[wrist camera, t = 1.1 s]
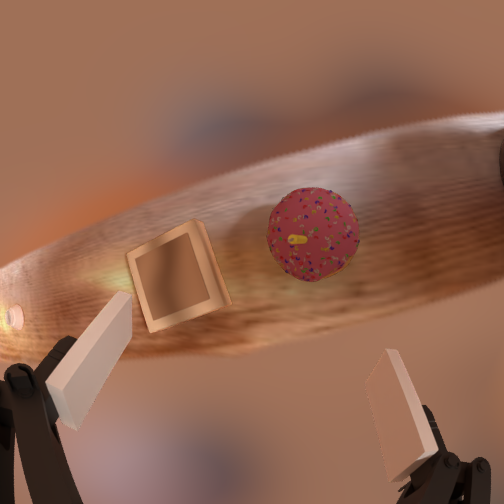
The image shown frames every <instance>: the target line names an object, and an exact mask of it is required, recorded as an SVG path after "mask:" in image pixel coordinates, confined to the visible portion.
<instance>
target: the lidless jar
mask: <svg viewBox="0 0 504 504" xmlns="http://www.w3.org/2000/svg"><path fill="white" fill-rule="evenodd" d="M5 319H6V322H7V324H8V325H9V326H11V327H13V328H15V329H17V330H21V329H22V327H23V324H24V316H23V312H22V309H21V307H20V306H19V305H17V304H15V305H14V306H12V307H11V308H9V309H8V310H6V313H5Z"/></svg>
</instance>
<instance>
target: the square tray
mask: <svg viewBox="0 0 504 504" xmlns="http://www.w3.org/2000/svg"><path fill="white" fill-rule="evenodd" d="M126 255H127V259H128V263H129V266H130V270H131V274H132V277H133V281H134V284H135V288H136V291H137V295H138V298H139V301H140V305H141V308H142V311H143V314H144V317H145V320H146V323H147V326H148V329H149V332H150V333H153V332H157V331H162V330H164V329H167V328H170V327H173V326H176V325H178V324H181V323H184V322H187V321H189V320H192V319H195V318H197V317H200V316H203V315H206V314H208V313H211V312H214V311H216V310H219V309H222V308H224V307H227V306H229V305H232V302H231V299H230V296H229V294H228V291H227V288H226V285H225V283H224V280H223V277H222V274H221V272H220V269H219V266H218V263H217V260H216V258H215V255H214V252H213V249H212V246H211V243H210V240H209V238H208V235H207V232H206V229H205V226H204V223H203V222H201V221H199V220H197V219H192V220H190V221H188V222H186V223H184V224H182V225H180V226H178V227H176V228H174V229H172V230H170V231H168V232H166V233H164V234H162V235H160V236H158V237H157V238H155V239H153V240H151V241H149V242H147V243H145V244H143V245H141V246H140V247H138V248H136V249H134V250H132V251H130V252H129V253H127V254H126Z"/></svg>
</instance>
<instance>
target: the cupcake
mask: <svg viewBox="0 0 504 504" xmlns="http://www.w3.org/2000/svg"><path fill="white" fill-rule="evenodd" d="M283 198H284V199H283ZM283 198H282V201H281V202H280V203H279V204H278V205H277V206H276V207H275V208H273V211H272V213H271V216H270V221H269V227H268V233H267V236H266V237H267V241H268V245H269V248H270V251H271V253H272V255H273V257H274V258H275V260H276V261H277V263H278V264H279V265H280V266H281V267H282V268H283V269H284V270H285V272H286V273H289V274H291V275H292V276H294V277H296V278H297V279H299V280H301V281H309V282H314V281H318V280H320V279H322V278H327V277H330V276H332V275H334V274H336V273H338V272H340V271H341V270H343V269H344V268H345V267H346V266H347V265H348V264H349V262H350V261H351V259H352V257H353V255H354V254H355V252H356V250H357V247H358V243H359V225H358V220H357V218H356V216H355V214H354V212H353V210H352V208H351V205H349V204H348V203H347V202H346V201H345V200H344V199H343V198H342V197H341V196H340V195H338V194H336V193H334V192H332V191H331V190H330V191H329V190H325V189H322V188H301V189H297V190H294V191H293V192H291V193H290V194H287V196H286V197H283Z"/></svg>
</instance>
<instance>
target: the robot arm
mask: <svg viewBox="0 0 504 504" xmlns="http://www.w3.org/2000/svg"><path fill="white" fill-rule="evenodd" d="M500 169H501V175H502V180H503V184H504V140H503V143H502V146H501V151H500ZM131 338H132V294H129V293H125V292H122V291H119V290H118V292H117V293H116V294H115V295H114V296H113V297H112V299H111V300H110V301H109V302H108V303H107V304H106V306H105V307H104V308H103V309H102V310H101V312H100V313H99V314H98V315H97V316H96V318H95V319H94V320H93V321H92V322H91V324H90V325H89V326H88V327H87V329H86V330H85V331H84V332H83V333H82V335H81V336H80V337H79V338H78V339H76V338H73V337H71V336H67V337H65V338H63V339H61V340H59V341H58V343H57V344H56V345H55V346H54V347H53V350H51V351H50V352H49V353H48V356H46V357H45V358H44V359H43V361H42V362H41V363H40V364H39V366H38V367H37V368H36V369H35V371H33V369H32V368H31V367H30V366H28V365H26V364H22V363H17V364H14V365H11V366H10V367H9V368H7V370H6V371H5V374H4V380H5V381H1V380H0V504H15V500H14V445H15V432H16V438H17V443H18V448H19V453H20V458H21V462H22V467H23V471H24V475H25V478H26V482H27V485H28V489H29V492H30V496H31V499H32V502H33V504H83V502H82V500H81V497H80V495H79V492H78V490H77V487H76V485H75V482H74V480H73V477H72V474H71V471H70V469H69V466H68V463H67V460H66V457H65V453H64V450H63V447H62V444H61V441H60V437H59V433H58V430H57V426H56V424H55V422H56V420H57V419H58V417H59V418H60V420H61V422H62V424H64V425H66V426H68V427H70V428H72V429H74V430H76V431H78V430H79V428H80V426H81V424H82V422H83V420H84V419H85V417H86V415H87V413H88V411H89V410H90V408H91V406H92V404H93V402H94V400H95V399H96V397H97V395H98V393H99V392H100V390H101V388H102V386H103V385H104V383H105V381H106V380H107V378H108V376H109V375H110V373H111V371H112V369H113V368H114V366H115V364H116V363H117V361H118V359H119V358H120V356H121V354H122V353H123V351H124V349H125V348H126V346H127V344H128V343H129V341H130V340H131ZM364 386H365V389H366V393H367V396H368V400H369V404H370V407H371V411H372V415H373V418H374V422H375V426H376V430H377V434H378V438H379V442H380V447H381V451H382V455H383V459H384V463H385V468H386V473H387V477H388V482H389V483H391V482H399V481H403V480H404V479H405V478H407V477H408V476H409V475H410V477H411V481H409V482H408V483H407V484H406V485H404V486H403V487H401V488H400V489H399V490H398V492H400V491H402V490H403V489H404V491H403V493H402V494H401V496H400V498H399V500H398V501H397V503H396V504H490V494H491V468H490V465H489V463H488V461H487V460H486V459H484V458H482V457H478V458H476V459H474V460H473V461H472V462H471V463H467V462H461V461H460V460H459V458H458V457H457V456H456V455H455V454H454V453H451V452H448V451H447V449H446V447H445V444H444V441H443V439H442V436H441V434H440V431H439V429H438V426H437V424H436V422H435V419H434V416H433V414H432V412H431V411H430V409H429V408H428V407H427V406H426V405H421V403H420V401H419V398H418V396H417V393H416V391H415V389H414V386H413V384H412V382H411V379H410V377H409V375H408V372H407V370H406V368H405V366H404V364H403V362H402V359H401V357H400V355H399V353H398V351H397V350H394V349H385V350H384V352H383V354H382V356H381V357H380V359H379V361H378V362H377V364H376V366H375V367H374V369H373V371H372V372H371V374H370V375H369V377H368V379H367V380H366V382H365V384H364ZM463 495H464V500H462V496H463Z"/></svg>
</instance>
